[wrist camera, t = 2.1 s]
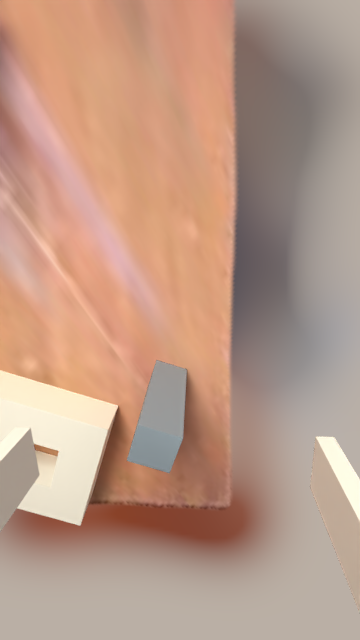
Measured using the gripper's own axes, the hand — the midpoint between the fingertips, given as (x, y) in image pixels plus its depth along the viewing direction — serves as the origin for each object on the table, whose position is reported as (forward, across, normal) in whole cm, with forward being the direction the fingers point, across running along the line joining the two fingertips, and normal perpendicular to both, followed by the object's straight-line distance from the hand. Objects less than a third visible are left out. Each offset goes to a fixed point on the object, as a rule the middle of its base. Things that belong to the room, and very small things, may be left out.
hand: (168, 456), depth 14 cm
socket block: (+23, -20, -17) cm, 35 cm away
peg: (+24, -4, -8) cm, 25 cm away
